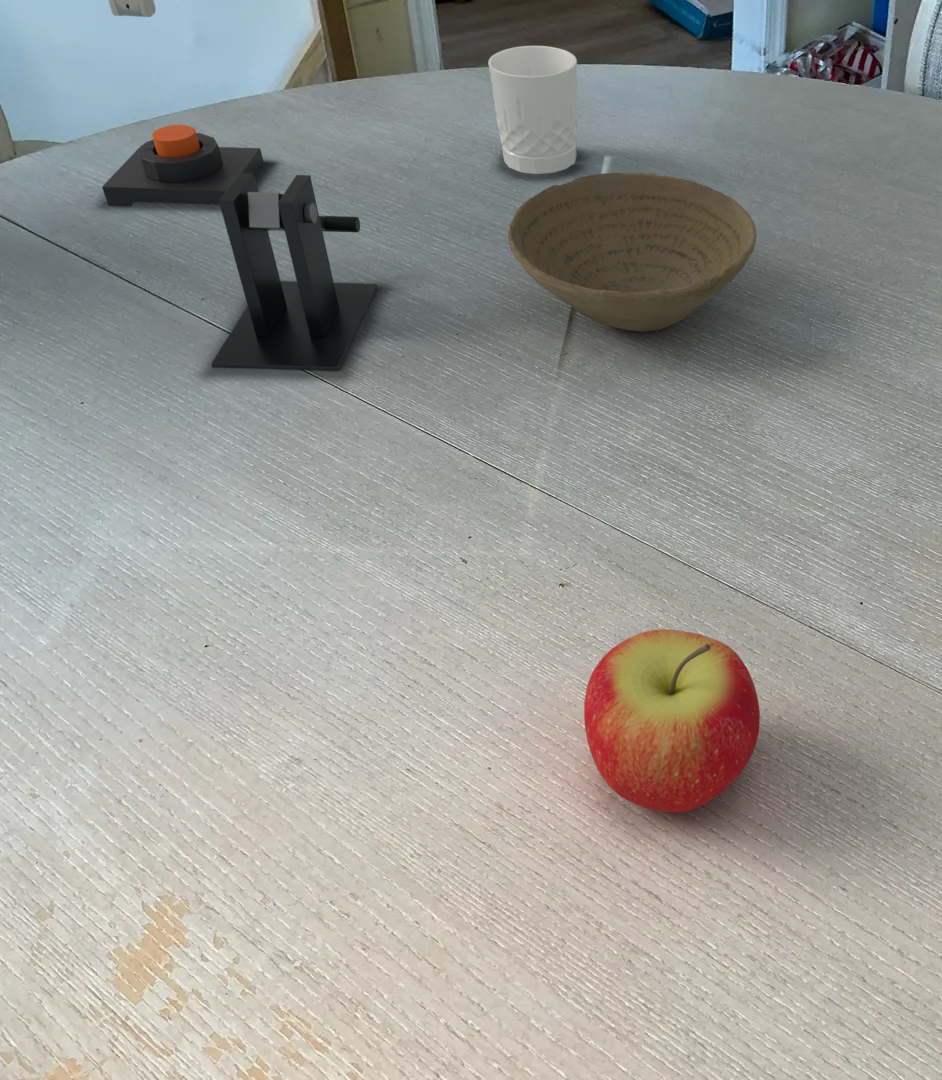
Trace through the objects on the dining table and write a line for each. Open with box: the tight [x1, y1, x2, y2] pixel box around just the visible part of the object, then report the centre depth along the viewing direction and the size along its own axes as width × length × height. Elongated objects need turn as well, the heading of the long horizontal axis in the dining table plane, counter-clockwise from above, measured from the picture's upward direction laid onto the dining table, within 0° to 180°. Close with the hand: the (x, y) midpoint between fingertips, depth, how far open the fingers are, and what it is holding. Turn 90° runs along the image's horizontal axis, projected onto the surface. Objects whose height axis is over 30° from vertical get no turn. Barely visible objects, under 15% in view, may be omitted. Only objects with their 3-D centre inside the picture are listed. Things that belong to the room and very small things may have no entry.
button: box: [151, 124, 200, 157], centre depth 104 cm, size 4×4×2 cm
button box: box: [101, 132, 265, 207], centre depth 106 cm, size 11×9×4 cm
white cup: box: [487, 45, 579, 175], centre depth 109 cm, size 8×8×10 cm
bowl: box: [507, 172, 758, 332], centre depth 89 cm, size 18×18×8 cm
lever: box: [247, 191, 361, 233], centre depth 87 cm, size 12×6×2 cm
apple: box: [583, 629, 761, 813], centre depth 56 cm, size 8×8×10 cm
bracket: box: [211, 173, 379, 372], centre depth 85 cm, size 12×9×12 cm
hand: (135, 14), depth 97 cm, fingers closed
